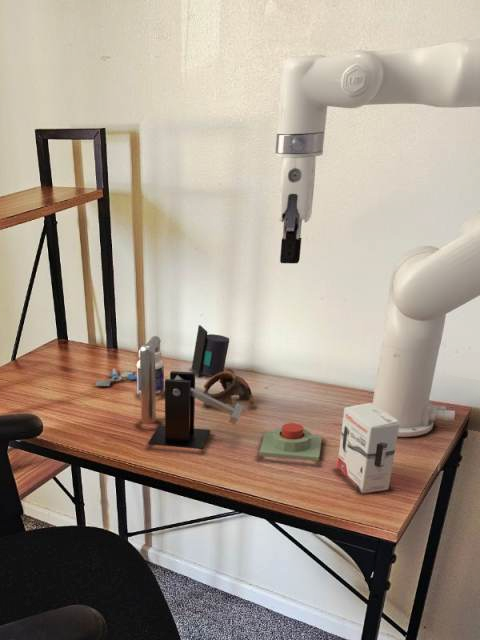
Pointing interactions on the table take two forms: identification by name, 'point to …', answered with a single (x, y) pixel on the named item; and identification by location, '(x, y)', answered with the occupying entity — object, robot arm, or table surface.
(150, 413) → the spout
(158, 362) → the pill bottle
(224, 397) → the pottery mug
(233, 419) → the tap lever
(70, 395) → the table surface
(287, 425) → the button
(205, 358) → the speaker
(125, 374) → the key chain
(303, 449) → the button housing
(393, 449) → the ink box
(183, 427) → the black lever stand
